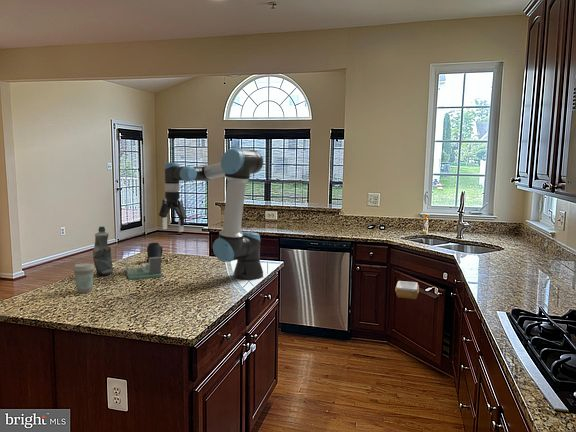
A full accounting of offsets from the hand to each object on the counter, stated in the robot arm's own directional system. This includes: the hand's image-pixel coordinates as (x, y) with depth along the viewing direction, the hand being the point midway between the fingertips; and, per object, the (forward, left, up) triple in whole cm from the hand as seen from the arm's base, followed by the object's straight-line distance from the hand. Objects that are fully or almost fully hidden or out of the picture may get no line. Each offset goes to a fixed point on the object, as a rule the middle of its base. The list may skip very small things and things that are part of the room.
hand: (172, 230), depth 230 cm
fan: (0, +12, -20) cm, 23 cm away
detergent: (-1, +35, -21) cm, 41 cm away
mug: (+19, +6, -21) cm, 29 cm away
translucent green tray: (-7, +17, -21) cm, 28 cm away
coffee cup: (-29, +45, -21) cm, 57 cm away
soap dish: (-93, -82, -21) cm, 126 cm away
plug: (-12, +12, -20) cm, 26 cm away
